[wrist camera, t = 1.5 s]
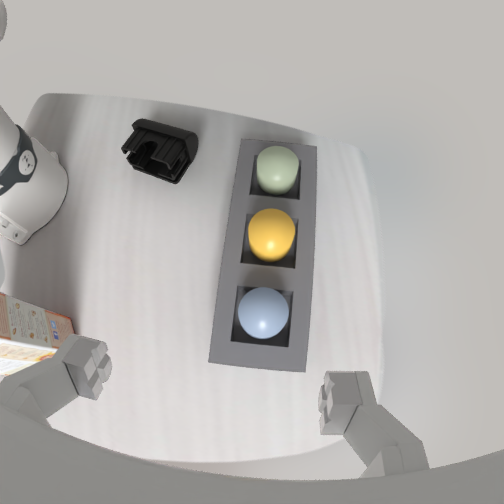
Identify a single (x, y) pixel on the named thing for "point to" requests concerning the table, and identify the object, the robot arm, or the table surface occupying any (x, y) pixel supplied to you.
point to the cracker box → (28, 334)
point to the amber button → (271, 234)
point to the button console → (267, 266)
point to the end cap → (160, 149)
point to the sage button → (277, 170)
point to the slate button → (263, 313)
